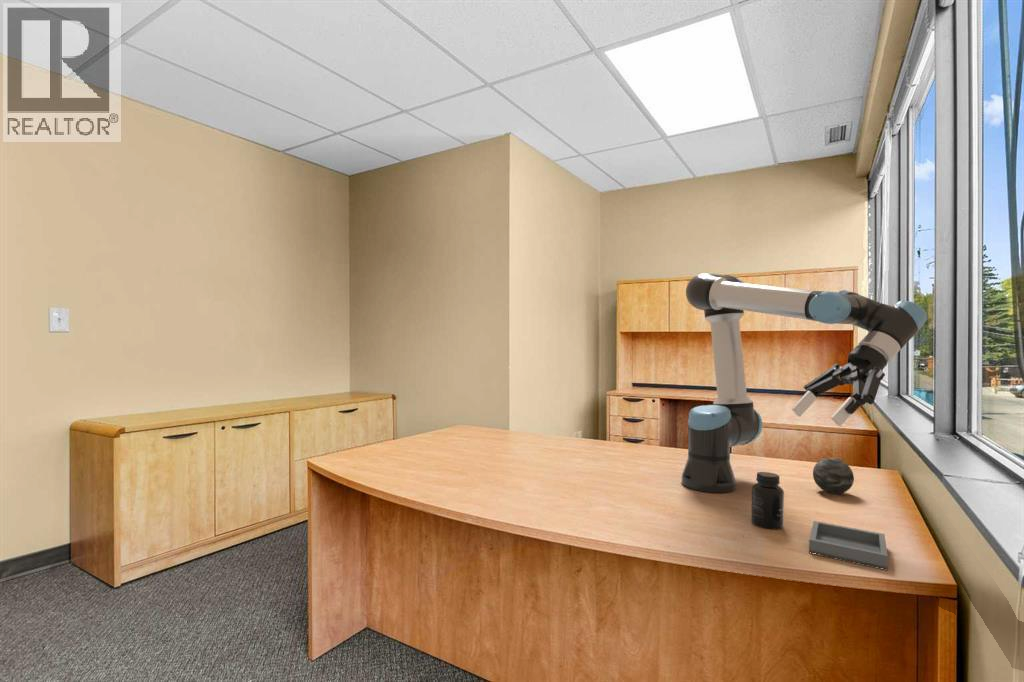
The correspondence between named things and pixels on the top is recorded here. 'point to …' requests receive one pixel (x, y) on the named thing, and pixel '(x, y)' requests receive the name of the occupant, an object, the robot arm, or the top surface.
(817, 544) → the tray
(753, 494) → the supplement bottle
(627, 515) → the top surface
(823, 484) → the decorative stone
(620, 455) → the top surface
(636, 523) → the top surface
